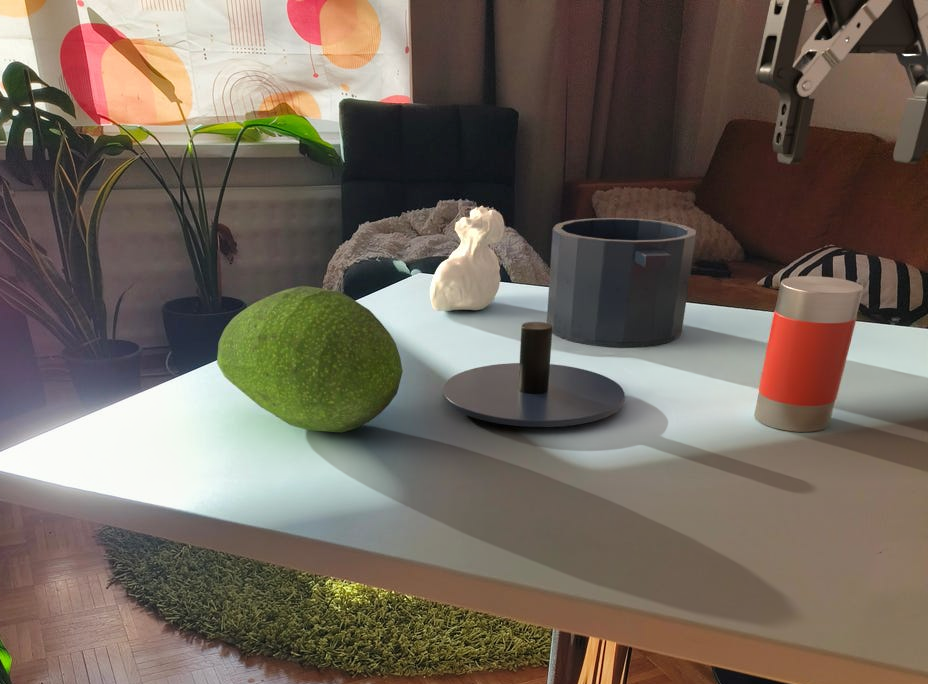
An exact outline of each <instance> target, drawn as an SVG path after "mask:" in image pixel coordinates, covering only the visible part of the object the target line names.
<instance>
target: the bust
mask: <svg viewBox="0 0 928 684" xmlns="http://www.w3.org/2000/svg"><path fill="white" fill-rule="evenodd" d="M469 215H470V216H469V217H467V216H463V217H461V218H460V219H459V220H458V221H456V222H455V226H454V231H455V232H456V234H457V237H459V239H460V244H459V245H458V247H457V248H456V249H454V251H452V253H451V254H450V255H449V257H448V258H447V259H445V260H444V261H442V262H441V263H440V264H439V265H438V267H437V268H436V270H435V272H434V275H433V277H432V281H431V284H430V288H429V297H430V301H431V306H432V308H433V309H434V310H435V311H437V312H444V311H447V312H451V311H458V310H460V311H461V310H465V311H466V310H467V311H468V310H471V311H479V310H484V309H485V308H486V307H487V306H489V305H490V304H491V303H492V302H493V301H494V300H495V298H496V295H497V293H498V291H499V289H500V282H501V280H502V279H501V274H500V270H501V266H500V263H499V262H500V261H499V259H498V256H497V254H496V252H495V251H494V250H493V249H492V248H491V247H490V246H489V245H490V244H499V242H501V240H502V239H503V237H504V232H505V220H504V218H503V215H502V214H501V213H499V212H498V211H497V210H495V209H488V207H484V205H481V206H479V207H477V206H476V207H475V208H474V209H471V210H470V212H469Z"/></svg>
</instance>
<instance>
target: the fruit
mask: <svg viewBox="0 0 928 684" xmlns="http://www.w3.org/2000/svg"><path fill="white" fill-rule="evenodd" d="M216 364H217V366H218V367H219V369H220V371H221V373H222V375H223V376H224V378H225V379H227V380H228V381H229V382H230V383H231V384H232V385H234V386H235V387H236V388H237V389H238V390H239V391H241V392H242V393H243V394H244V395H245V396H247V398H249V399H250V400H251V401H253V402H254V403H255V404H256V405H258V406H259V407H260V408H262V409H263V410H265V411H267V412H268V413H270V414H272V415H273V416H275V417H277V418H278V419H280V420H281V421H283V422H285V423H286V424H287V425H289V426H293V427H297V428H300V429H303V430H305V431H312V432H313V431H315V432H329V433H333V432H334V433H345V432H348V431H353V430H355V429H358V428H360V427H361V426H363V425H365V424H367V423H369V422H371V421H372V420H373V419H375V418H376V417H377V416H379V415H380V414H381V413H382V412H383V411H385V410H386V408H387V407H389V406H390V404H391V403H392V401H393V400H394V399H395V397H396V396H397V394H398V391H399V388H400V383H401V380H402V376H403V371H404V370H403V365H402V359H401V356H400V352H399V349H398V346H397V343H396V341H395V339H394V338H393V336H392V335H391V333H390V332H389V331H388V330H387V328H386V327H385V326H384V325H383V323H382V322H381V321H380V319H378V318H377V316H376V315H375V314H374V313H373V312H372V311H371V309H369V308H367V307H365V306H364V305H362V304H361V303H359V302H358V301H356V300H355V299H353V298H351V297H350V296H348V295H346V294H344V293H343V292H341V291H339V290H332V289H325V288H320V287H314V286H308V285H300V286H296V287H290V288H287V289H284V290H281V291H278V292H276V293H273V294H270V295H268V296H266V297H264V298H262V299H260V300H258V301H256V302H253V303H252V304H251V305H249V306H247V307H245V309H243V310H241V311H240V312H239V313H237V314H236V315H235V316H234V317H233V318H232V319H230V321H229V322H228V323H227V325H226V326H225V328H224V329H223V332H222V333H221V336H220V338H219V341H218V346H217V359H216Z"/></svg>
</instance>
